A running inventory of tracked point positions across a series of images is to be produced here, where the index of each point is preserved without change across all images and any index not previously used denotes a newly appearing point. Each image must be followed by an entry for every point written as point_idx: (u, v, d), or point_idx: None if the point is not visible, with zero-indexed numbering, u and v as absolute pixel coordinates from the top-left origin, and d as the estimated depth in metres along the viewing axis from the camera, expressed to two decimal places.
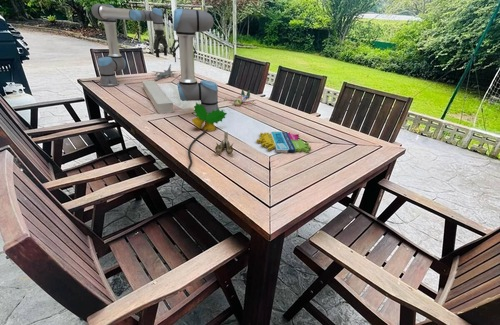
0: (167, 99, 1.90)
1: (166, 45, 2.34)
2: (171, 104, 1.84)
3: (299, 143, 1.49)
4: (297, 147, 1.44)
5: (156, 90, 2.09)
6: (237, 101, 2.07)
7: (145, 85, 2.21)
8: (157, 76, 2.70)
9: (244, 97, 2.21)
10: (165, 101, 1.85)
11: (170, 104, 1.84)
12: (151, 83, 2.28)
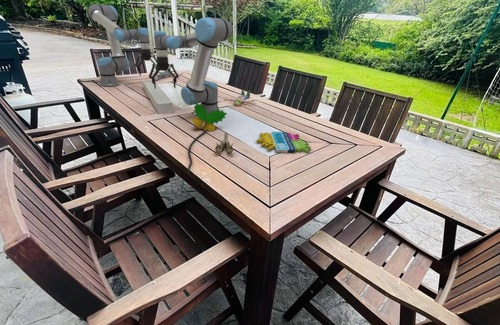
0: (167, 99, 1.90)
1: (136, 64, 2.21)
2: (171, 104, 1.84)
3: (299, 143, 1.49)
4: (297, 147, 1.44)
5: (156, 90, 2.09)
6: (237, 101, 2.07)
7: (145, 85, 2.21)
8: (157, 76, 2.70)
9: (244, 97, 2.21)
10: (165, 101, 1.85)
11: (170, 104, 1.84)
12: (151, 83, 2.28)
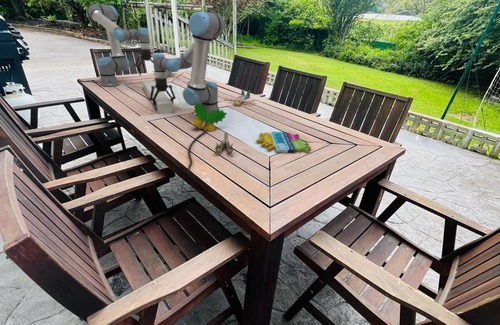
0: (167, 99, 1.90)
1: (136, 64, 2.21)
2: (171, 104, 1.84)
3: (299, 143, 1.49)
4: (297, 147, 1.44)
5: (156, 90, 2.09)
6: (237, 101, 2.07)
7: (145, 85, 2.21)
8: None
9: (244, 97, 2.21)
10: (165, 101, 1.85)
11: (170, 104, 1.84)
12: (151, 83, 2.28)
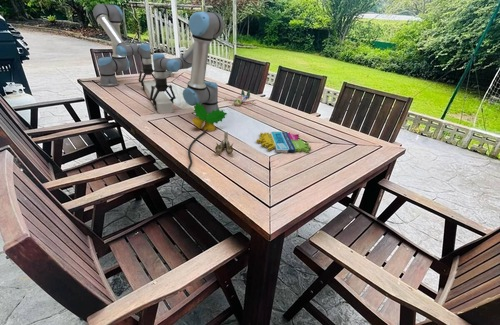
0: (167, 99, 1.90)
1: None
2: (171, 104, 1.84)
3: (299, 143, 1.49)
4: (297, 147, 1.44)
5: (156, 90, 2.09)
6: (237, 101, 2.07)
7: (145, 85, 2.21)
8: None
9: (244, 97, 2.21)
10: (165, 101, 1.85)
11: (170, 104, 1.84)
12: (151, 83, 2.28)
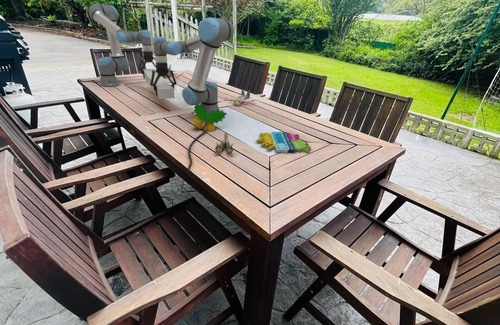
0: (168, 85, 1.86)
1: None
2: (172, 89, 1.80)
3: (299, 143, 1.49)
4: (297, 147, 1.44)
5: None
6: (237, 101, 2.07)
7: (145, 73, 2.17)
8: None
9: (244, 97, 2.21)
10: (166, 87, 1.81)
11: (171, 89, 1.80)
12: (151, 71, 2.24)
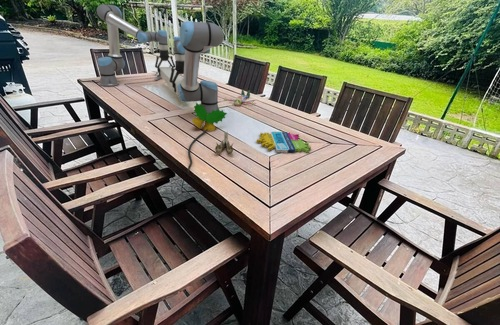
0: None
1: (156, 65, 2.35)
2: None
3: (299, 143, 1.49)
4: (297, 147, 1.44)
5: (173, 75, 2.17)
6: (237, 101, 2.07)
7: (162, 70, 2.29)
8: (157, 76, 2.70)
9: (244, 97, 2.21)
10: None
11: None
12: (167, 69, 2.36)
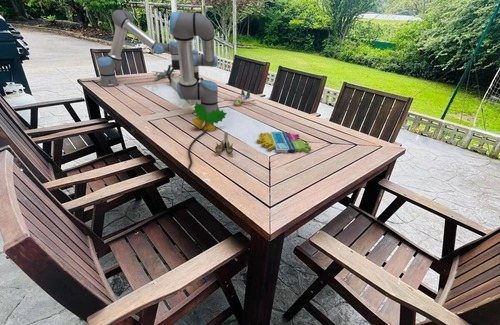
0: None
1: None
2: None
3: (299, 143, 1.49)
4: (297, 147, 1.44)
5: None
6: (237, 101, 2.07)
7: (174, 80, 2.42)
8: (157, 76, 2.70)
9: (244, 97, 2.21)
10: None
11: None
12: (178, 79, 2.49)
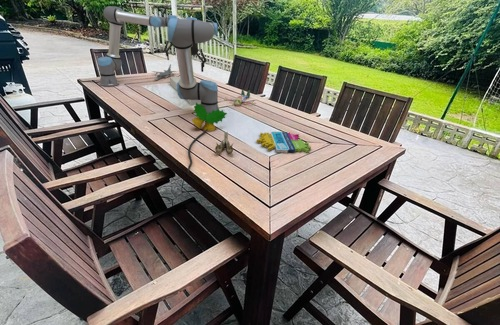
0: None
1: None
2: None
3: (299, 143, 1.49)
4: (297, 147, 1.44)
5: None
6: (237, 101, 2.07)
7: (174, 80, 2.42)
8: (157, 76, 2.70)
9: (244, 97, 2.21)
10: None
11: None
12: (178, 79, 2.49)
